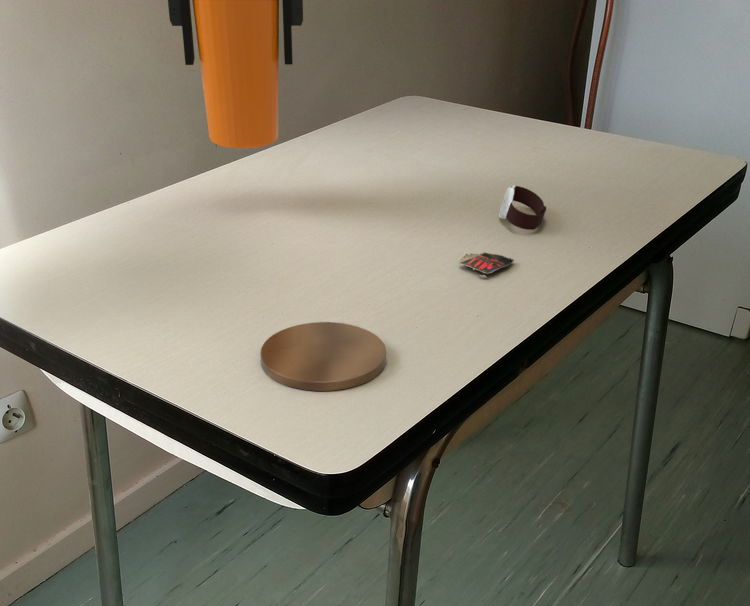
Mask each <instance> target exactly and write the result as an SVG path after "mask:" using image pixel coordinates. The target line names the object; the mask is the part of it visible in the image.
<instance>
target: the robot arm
mask: <svg viewBox="0 0 750 606" xmlns="http://www.w3.org/2000/svg"><path fill="white" fill-rule="evenodd" d="M167 4H168V5H167V6H168V7H167V8H168V16H169V22H170V24H171V26H172V27H181V30H182V31H181V32H182V41H183V42H182V43H183V54H184V65H185V66H194V64H195V60H196V59H195V58H196V57H195V46H194V35H193V33H194V32H193V21H192V9H191V0H167ZM281 4H282V29H283V59H284V65H288V66H289V65H290V66H291V65H292V66H293V63H294V62H293V32H292V29H293V28H292V27H302V25H303V22H304V0H282V3H281Z"/></svg>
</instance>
